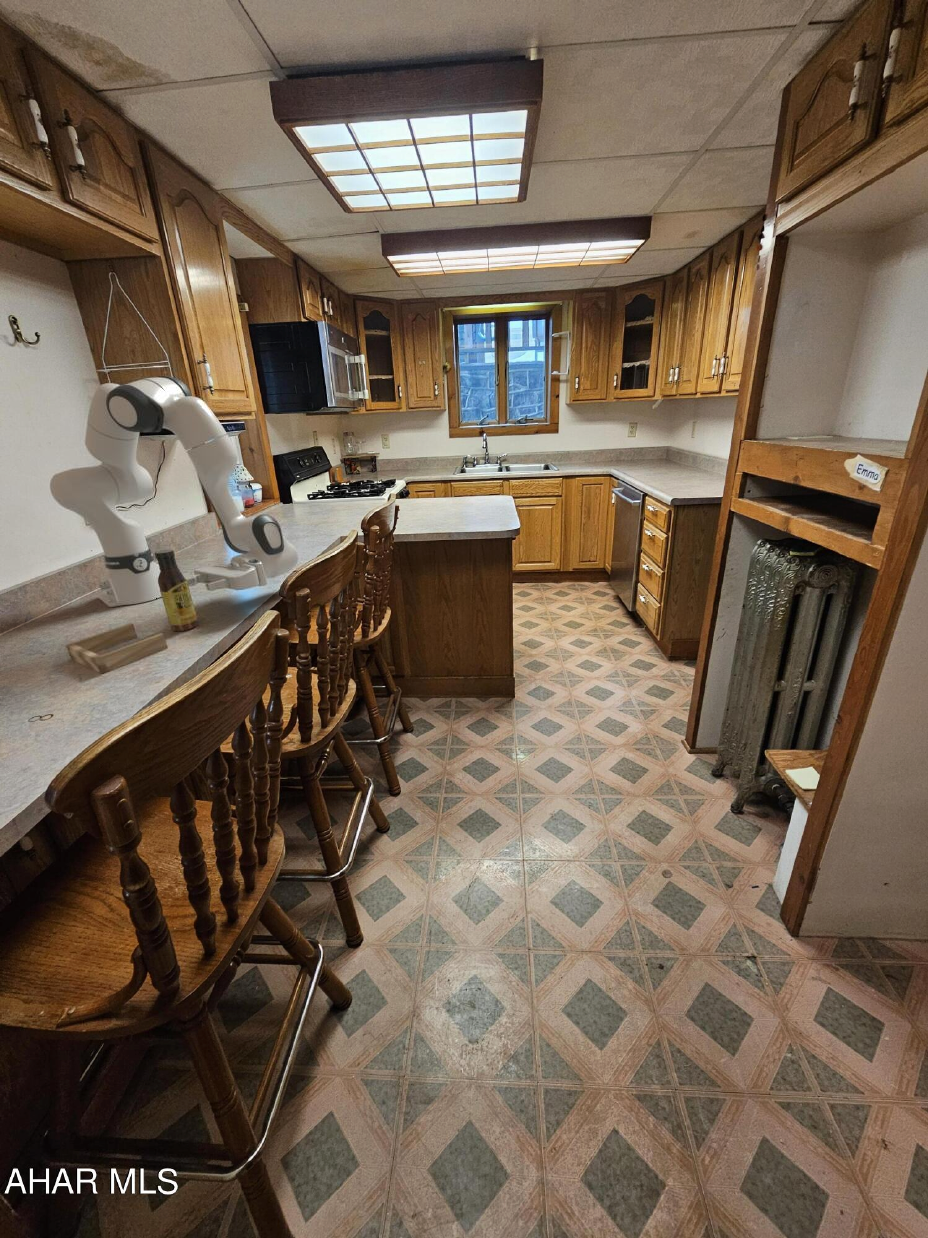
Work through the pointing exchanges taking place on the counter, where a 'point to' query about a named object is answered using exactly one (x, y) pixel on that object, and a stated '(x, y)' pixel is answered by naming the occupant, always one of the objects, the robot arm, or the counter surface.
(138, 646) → the wooden bracket
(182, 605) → the sauce bottle
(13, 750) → the counter surface
